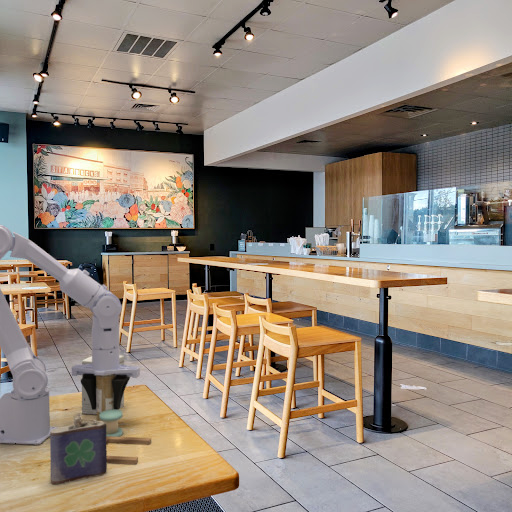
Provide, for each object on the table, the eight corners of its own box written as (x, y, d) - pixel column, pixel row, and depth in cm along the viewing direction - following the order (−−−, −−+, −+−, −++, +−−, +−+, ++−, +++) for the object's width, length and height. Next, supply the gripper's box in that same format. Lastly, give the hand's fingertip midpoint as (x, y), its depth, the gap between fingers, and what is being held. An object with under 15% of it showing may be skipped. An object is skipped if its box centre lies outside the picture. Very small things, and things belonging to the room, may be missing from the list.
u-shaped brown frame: (84, 462, 91) (84, 457, 91) (104, 440, 101) (104, 436, 101) (135, 464, 90) (135, 460, 90) (151, 442, 100) (151, 438, 100)
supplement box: (80, 414, 115) (80, 360, 114) (97, 403, 122) (97, 352, 121) (110, 417, 113) (109, 362, 112) (125, 406, 120) (125, 354, 120)
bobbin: (96, 438, 101) (95, 417, 101) (104, 429, 106) (104, 409, 106) (118, 439, 101) (117, 418, 101) (125, 430, 105) (125, 409, 105)
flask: (51, 486, 82) (50, 423, 82) (49, 478, 85) (49, 417, 85) (108, 474, 87) (107, 414, 86) (105, 467, 89) (104, 408, 89)
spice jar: (116, 427, 107) (116, 366, 106) (94, 428, 106) (93, 367, 105) (118, 418, 112) (117, 360, 110) (97, 419, 111) (96, 360, 109)
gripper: (64, 350, 104) (65, 413, 105) (132, 352, 103) (132, 416, 104) (79, 342, 111) (80, 402, 112) (142, 344, 110) (142, 404, 111)
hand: (106, 408), depth 108 cm, fingers closed on spice jar, 4 cm apart
